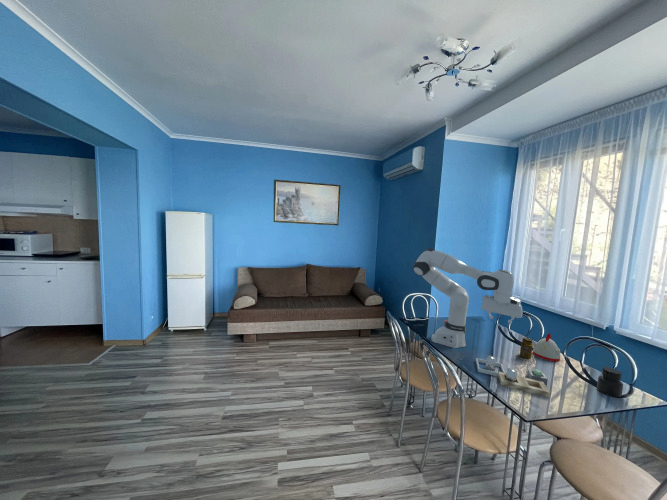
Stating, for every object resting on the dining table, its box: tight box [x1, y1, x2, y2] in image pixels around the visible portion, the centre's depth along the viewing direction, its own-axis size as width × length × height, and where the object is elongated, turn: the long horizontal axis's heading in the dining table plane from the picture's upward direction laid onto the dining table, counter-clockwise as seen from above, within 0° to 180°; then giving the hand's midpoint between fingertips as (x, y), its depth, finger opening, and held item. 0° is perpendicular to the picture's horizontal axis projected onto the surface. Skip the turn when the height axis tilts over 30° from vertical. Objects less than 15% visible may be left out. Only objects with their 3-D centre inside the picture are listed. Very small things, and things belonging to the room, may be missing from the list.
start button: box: [532, 368, 543, 377], centre depth 144 cm, size 4×4×3 cm
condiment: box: [515, 337, 534, 362], centre depth 171 cm, size 7×8×12 cm
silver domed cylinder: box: [505, 367, 518, 382], centre depth 139 cm, size 4×4×7 cm
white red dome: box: [532, 333, 561, 362], centre depth 174 cm, size 14×14×15 cm
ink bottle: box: [596, 366, 624, 398], centre depth 136 cm, size 10×9×12 cm
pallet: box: [497, 371, 551, 398], centre depth 137 cm, size 20×10×3 cm, turn 67°
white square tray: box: [475, 357, 506, 377], centre depth 153 cm, size 13×13×2 cm
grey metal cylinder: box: [485, 355, 497, 372], centre depth 152 cm, size 4×4×7 cm
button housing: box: [526, 368, 549, 386], centre depth 144 cm, size 7×7×4 cm
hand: (499, 321), depth 156 cm, fingers open, 8 cm apart
